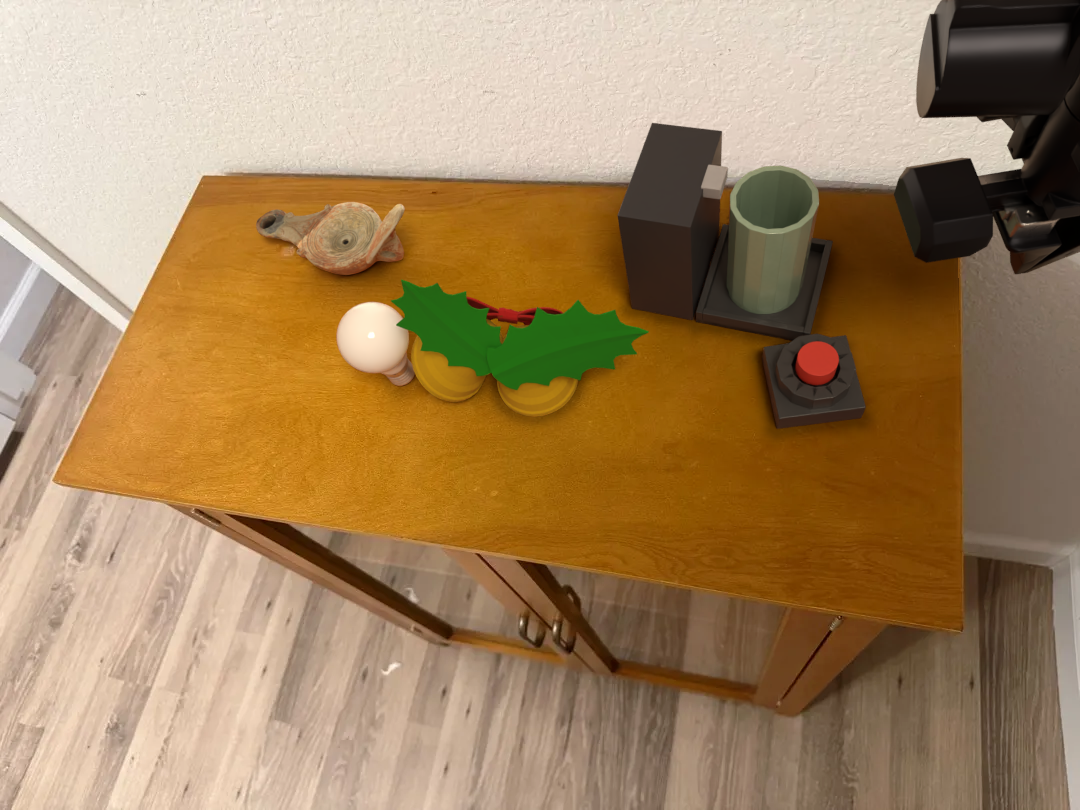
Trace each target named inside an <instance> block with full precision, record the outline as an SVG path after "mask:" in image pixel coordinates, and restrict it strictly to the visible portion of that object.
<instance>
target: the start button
mask: <svg viewBox="0 0 1080 810" xmlns="http://www.w3.org/2000/svg"><path fill="white" fill-rule="evenodd" d="M838 363H839V356H838V353H837V351H836V350H835V349H834V348H833V347H832V346H831V345H829V344H827V343H825V342H819V341H815V342H810V343H808V344H806V345H804V346H803V347H802V348H801V349H800V351H799V353H798V356H797V361H796V365H795V369H796V373H797V375H798V377H799V378H800V379H801V380H802V381H804V382H805V383H808V384H811V385H822V384H825V383H827V382H829V381H830V380H831V379H832V378H833V377H834V375H835V372H836V369H837V366H838Z"/></svg>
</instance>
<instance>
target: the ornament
mask: <svg viewBox="0 0 1080 810" xmlns="http://www.w3.org/2000/svg"><path fill="white" fill-rule="evenodd" d="M400 282H401V288H402V291H403V294H402V296H399V297H398V298H395V299H391V300H390V302H391V303H392V304H393V305H395V306H396V307H397V308H398V309H400V311H402V312H403V314H404V316H403V317H402V318H403V319H402V320H401V321H400V322H398V323H397V324H396V326H398V327H401V328H404V329H406V330H408V332H412V333H414V334H415V335H416V337H415V338H414V342H413V344H412V347H411V353H410V358H411V360H410V361H411V363H412V366H413V370H414V372H415V377H416V378H417V380H418V381H419V383H420V384H421V386H422V387H423V388H424V389H425V390H426V391H427V392H428V393H429V394H431V395H432V396H434V397H435V398H436V399H437V398H438V399H440V400H442V401H446V402H450V403H458V402H459V403H460V402H464V401H465V400H469V399H470V398H472V397H473V396H475V394H476V393H478V392H479V390H480V389H481V387H482V386H483V384H484V382H485V379H486V377H487V376H488V375H491V374H492V377H493V378H494V379H495V380H496V386H497V391H498V393H499V396H500V398H501V400H502V402H503V403H504V405H506V406H507V408H509V410H511V411H513V412H514V413H516V414H518V415H521V416H524V417H525V416H526V417H535V418H536V417H543V416H547V415H551V414H553V413H555V412H557V411H558V410H560V409H562V408H563V407H564V406H565V405H567V404H568V402H570V400H571V399H572V397H573V395H574V394H575V392H576V390H577V387H578V383H579V381H581V380H582V376H583V374H584V373H586V371H588V370H591V369H596V368H598V369H607V370H608V369H609V370H616V365H615V359H616V358H617V357H620V356H631V355H633V356H634V355H636V356H637V355H638V353H637V351H636V350H635V348H634V346H633V345H632V344H633V343H634V341H636V340H637V339H639V338H641V337H642V336H644V335H647V334H649V333H650V331H649V330H646V329H643V328H641V327H639V326H633V325H628V324H626V323H623V322H622V321H621V320H620V318H619V317H618V315H617V310H616V309H612V310H608V311H606V312H602V313H592V312H590V311H588V310H587V308H586V307H585V306H584V304H582V302H581V301H580V300H579V299H577V300H576V301H575V302H574V303H573V304H572V305H571V307H569V308H568V309H567V310H566V311H562V310H559V309H557V308H554V307H549V306H541V307H539V306H537V307H531V308H527V309H524V310H519V311H518V310H514V309H511V308H505V307H499V308H497V307H494V306H492V305H490V304H488V303H486V302H484V301H481V300H480V299H476V298H475V297H474V298H473V297H472V296H471V297H470V296H467V295H468V294H467V290H465V291H462V292H458V293H454V294H451V293H448V292H445V291H444V290H443V288H442V287H441V286H440V285H439V283H438V282H435V283H434V284H432V285H428V286H419V285H417V284H415V283H412V282H410V281H408V280H405V279H400ZM493 320H497V322H500V323H508V324H509V325H508V330H507V333H505V335H504V336H503V334H502V332H501V329H502V326H501V325H497V324H496V323H494V321H493ZM519 323H522V324H520V325H517V324H519ZM512 324H514V325H517V326H514V325H512Z"/></svg>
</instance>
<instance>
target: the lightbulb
mask: <svg viewBox="0 0 1080 810" xmlns="http://www.w3.org/2000/svg"><path fill="white" fill-rule="evenodd" d="M403 318H404V317H403V316H402V315H401V313H399V312H398V311H397V310H396V309H395V308H393V307H392V306H390V305H388V304H386V303H383V302H379V301H366V302H361V303H359V304H356V305H354V306H352V307H351V308H350V309H348V310H347V311H346V312H345V313H344V314H343V316H342V317H341V319H340V321H339V323H338V325H337V328H336V334H335V335H336V336H335V337H336V345H337V348H338V352H339V354H340V355H341V357H342V358H343V359H344V361H345V362H346V363H347V364H348V365H349V366H351V367H352V368H354V369H356V370H357V371H359V372H363V373H366V374H382V375H384V376H386V378H387V380H389V381H390V383H391V384H392V385H394V386H398V387H401V386H405V385H408V384H409V383H411V381H412V380H413V379H414V377H415V376H416V374H415V372H414V370H413V366H412V361H411V360H410V359H409V357H408V353H407V351H408V349H409V344H410V333H409V332H410V331H409V330H406V329H404V328H401V327H398V326H396V324H397V323H398V322H400V321H401V320H402V319H403Z"/></svg>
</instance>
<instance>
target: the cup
mask: <svg viewBox="0 0 1080 810" xmlns="http://www.w3.org/2000/svg"><path fill="white" fill-rule="evenodd" d="M819 195H820V194H819V189H818V187H817V186H816V185H815V183H814V181H813V180H812V178H811V177H810V176H808V175H807V174H805V173H804V172H802V171H801V170H799V169H797V168H794V167H789V166H785V165H767V166H762V167H759V168H756V169H753V170H751V171H748V172H747V173H746V174H744V175H743V176H742V177H741V178H739V179H738V180H737V181H736V182H735V184H734V186H733V188H732V190H731V192H730V194H729V209H728V225H729V228H728V251H727V273H726V286H727V291H728V294H729V296H730V298H731V299H732V301H733V302H734V303H735V304H736V305H737V306H739V307H740V308H742V309H744V310H745V311H748V312H751V313H755V314H772V313H777V312H780V311H782V310H784V309H786V308H788V307H789V306H790V305H792V304H793V303H794V302H795V300H796V299H797V298H798V296H799V294H800V292H801V288H802V286H803V281H804V276H805V271H806V266H807V261H808V256H809V251H810V246H811V241H812V238H814V237H813V236H814V231H815V226H816V222H817V216H818V213H819V212H818V211H819V207H820V196H819Z"/></svg>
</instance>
